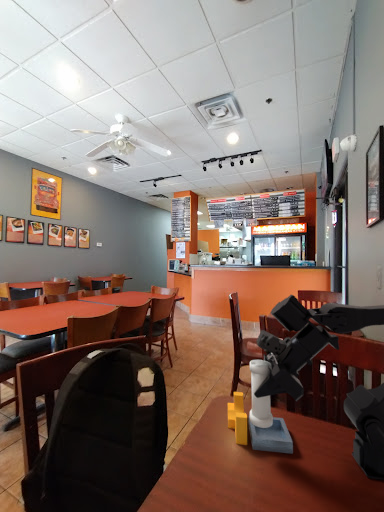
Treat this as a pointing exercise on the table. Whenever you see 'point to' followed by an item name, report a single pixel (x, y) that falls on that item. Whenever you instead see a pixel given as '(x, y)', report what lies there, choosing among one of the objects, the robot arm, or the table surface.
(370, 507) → the table surface
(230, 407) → the pipe clamp
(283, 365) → the robot arm
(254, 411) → the white domed pillar
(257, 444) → the blue-grey square tray
